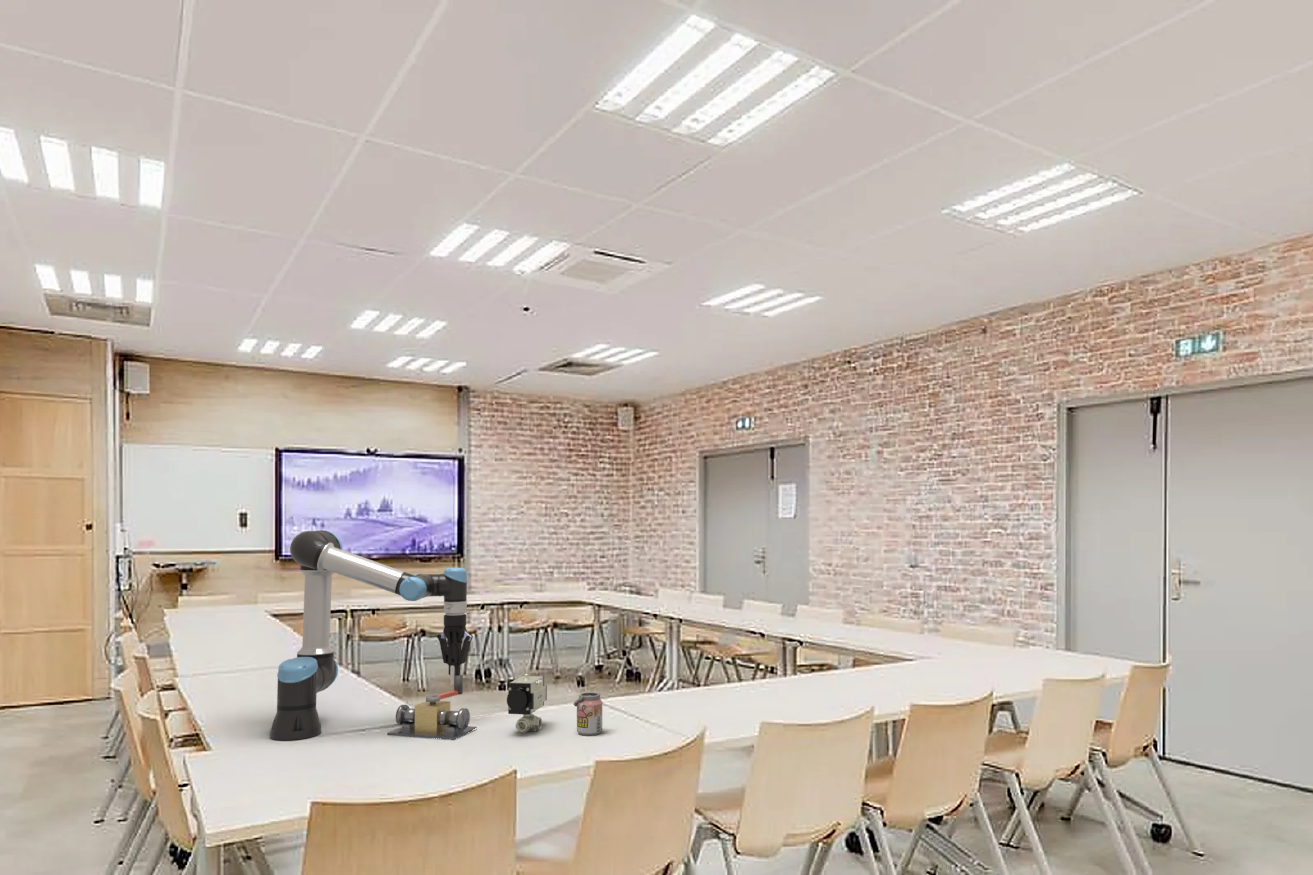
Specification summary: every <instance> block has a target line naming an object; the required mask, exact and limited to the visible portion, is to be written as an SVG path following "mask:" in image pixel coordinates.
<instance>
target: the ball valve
mask: <svg viewBox="0 0 1313 875" xmlns="http://www.w3.org/2000/svg"><path fill="white" fill-rule="evenodd" d="M507 686H508V690H507V692H508V694H507V697H506V704H507V706H508V707H507V708H508V709H507V710H508V712H507V714H508V715H522V717H520V718H519V719H518V720H517V721H516V724H515V728H516V730H517V731H518V733H522V734H525V733H527V732H528V731H530V732H531V731H532V732H536V731H538V730H541V729H542V726H543V720H542V717H540V716H537V715H535V714H533V713H535V712H536V711H538V710H539V709H540V708H542V707H544V705H545V702H546V701H547V700H548V699H547V698H548V689H547V688H548V685H547V684H546V685H545V676H544V675H530V674H529V673H525V674H524V675H522V676H519V677H518V678H516V679H515V680H513V681H510V682H508V684H507Z"/></svg>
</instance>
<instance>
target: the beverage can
mask: <svg viewBox="0 0 1313 875" xmlns="http://www.w3.org/2000/svg"><path fill="white" fill-rule="evenodd" d="M578 696H579V697H578V698H577V699H576V700H575V701H574V702H573V706H574V707H576V732H577V733H578V735H581V736H586V737H589V736H590V737H591V736H597V735H598V736H599V735H600V734H601V733H602V732H603V701H602V699H601V693H600V692H593V691H592V692H591V691H589V692H583V693H580V694H579V695H578Z"/></svg>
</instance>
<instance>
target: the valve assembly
mask: <svg viewBox="0 0 1313 875" xmlns="http://www.w3.org/2000/svg"><path fill="white" fill-rule="evenodd" d="M470 719H471V714H470V711H469V709H468V708H466V707H465V708H464V707H463V708H462V707H461V708H460V709H459V710H451V701H447V700H440V701H437V702H426V701H424V702H420V703H417V704H415V706H414V708H413V707H410V706H409V705H407V704H401V705H399V706H398V707H397V709H396V712H395V722H396V724H397V725H398V726H401V727H398V728H394V729H392V730H390V731H388V732H387V734H386V735H387V736H395V737H404V738H405V737H407V738H420V739H421V738H422V739H432V738H433V739H434V738H435V739H434V740H446V739H451V740H450V741H455V740H457V739H456V738H458V737H460V738H462V737H464V736H465V734H466V733H468V732H470V733H472V732H473V731H472V730H473V729H475V728H478V727H477V726H471V725H470V726H469V724H470ZM471 731H472V732H471ZM468 734H469V733H468ZM463 735H464V736H463ZM466 735H467V734H466ZM461 736H462V737H461ZM436 738H437V739H436ZM438 738H439V739H438ZM440 738H441V739H440ZM458 739H459V738H458Z"/></svg>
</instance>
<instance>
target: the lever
mask: <svg viewBox="0 0 1313 875" xmlns="http://www.w3.org/2000/svg"><path fill="white" fill-rule="evenodd" d="M463 676H464V675H463V674H460V675H454V686H453V690H451V691H447V692H444V693H443V692H442V693H440V694H435V695H428V696H425V702H437V701H441V700H444V699H448V698H451V697H453V696H458V695H459V696H460V695H463V694H464V692H463V687H464V686H463V683H464V682H463V680H464V677H463Z"/></svg>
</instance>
